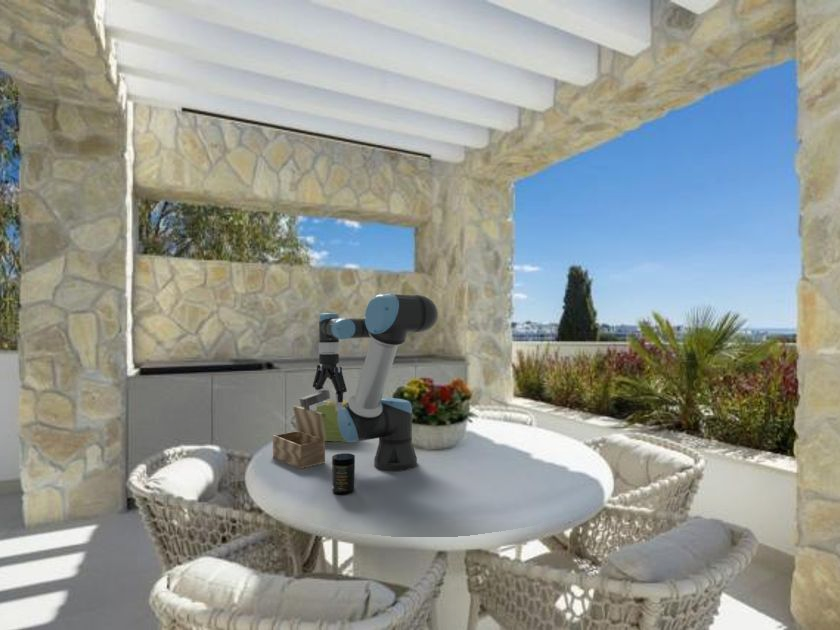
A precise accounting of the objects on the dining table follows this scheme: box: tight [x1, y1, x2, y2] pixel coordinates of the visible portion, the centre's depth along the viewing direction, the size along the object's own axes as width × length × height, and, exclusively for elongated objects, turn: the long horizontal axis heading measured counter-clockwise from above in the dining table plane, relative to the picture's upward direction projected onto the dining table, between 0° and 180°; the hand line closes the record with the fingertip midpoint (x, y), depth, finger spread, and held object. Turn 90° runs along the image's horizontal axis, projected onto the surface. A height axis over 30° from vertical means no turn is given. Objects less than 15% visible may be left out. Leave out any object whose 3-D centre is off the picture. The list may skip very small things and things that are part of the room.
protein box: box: [316, 400, 349, 443], centre depth 203 cm, size 10×15×16 cm
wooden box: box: [272, 430, 326, 470], centre depth 173 cm, size 20×10×8 cm, turn 43°
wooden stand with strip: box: [292, 389, 331, 440], centre depth 178 cm, size 20×14×11 cm
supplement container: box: [331, 452, 356, 496], centre depth 141 cm, size 7×7×10 cm
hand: (329, 408), depth 182 cm, fingers open, 13 cm apart
